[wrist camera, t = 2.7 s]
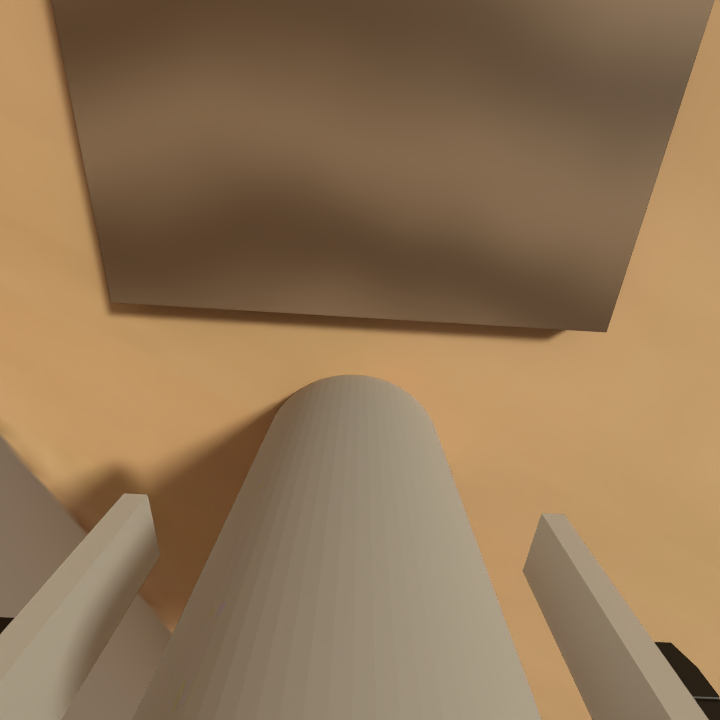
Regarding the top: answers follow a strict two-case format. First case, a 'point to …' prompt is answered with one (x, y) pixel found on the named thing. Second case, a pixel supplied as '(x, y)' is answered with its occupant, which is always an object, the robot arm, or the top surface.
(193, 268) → the walnut board
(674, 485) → the top surface
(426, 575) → the beige cylinder
